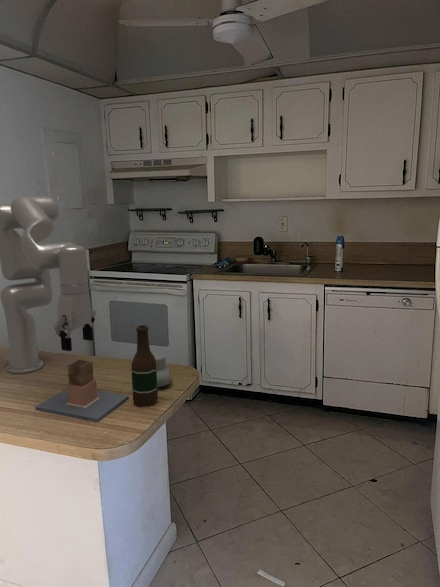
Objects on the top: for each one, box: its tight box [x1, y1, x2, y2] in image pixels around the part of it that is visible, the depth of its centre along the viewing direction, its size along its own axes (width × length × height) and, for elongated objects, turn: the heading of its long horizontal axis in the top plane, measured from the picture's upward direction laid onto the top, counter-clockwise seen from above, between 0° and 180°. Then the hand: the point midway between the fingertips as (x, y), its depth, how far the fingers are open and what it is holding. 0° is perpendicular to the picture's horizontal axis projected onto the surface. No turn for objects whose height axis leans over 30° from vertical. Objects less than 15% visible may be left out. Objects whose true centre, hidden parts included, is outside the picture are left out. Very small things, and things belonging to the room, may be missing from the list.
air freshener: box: [152, 353, 171, 389], centre depth 148 cm, size 11×8×10 cm
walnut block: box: [67, 359, 95, 387], centre depth 132 cm, size 5×5×6 cm
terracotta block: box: [66, 379, 98, 406], centre depth 134 cm, size 6×6×6 cm
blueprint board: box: [34, 388, 130, 423], centre depth 134 cm, size 22×16×1 cm
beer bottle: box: [131, 325, 158, 408], centre depth 133 cm, size 8×8×24 cm
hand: (77, 344), depth 131 cm, fingers open, 9 cm apart
